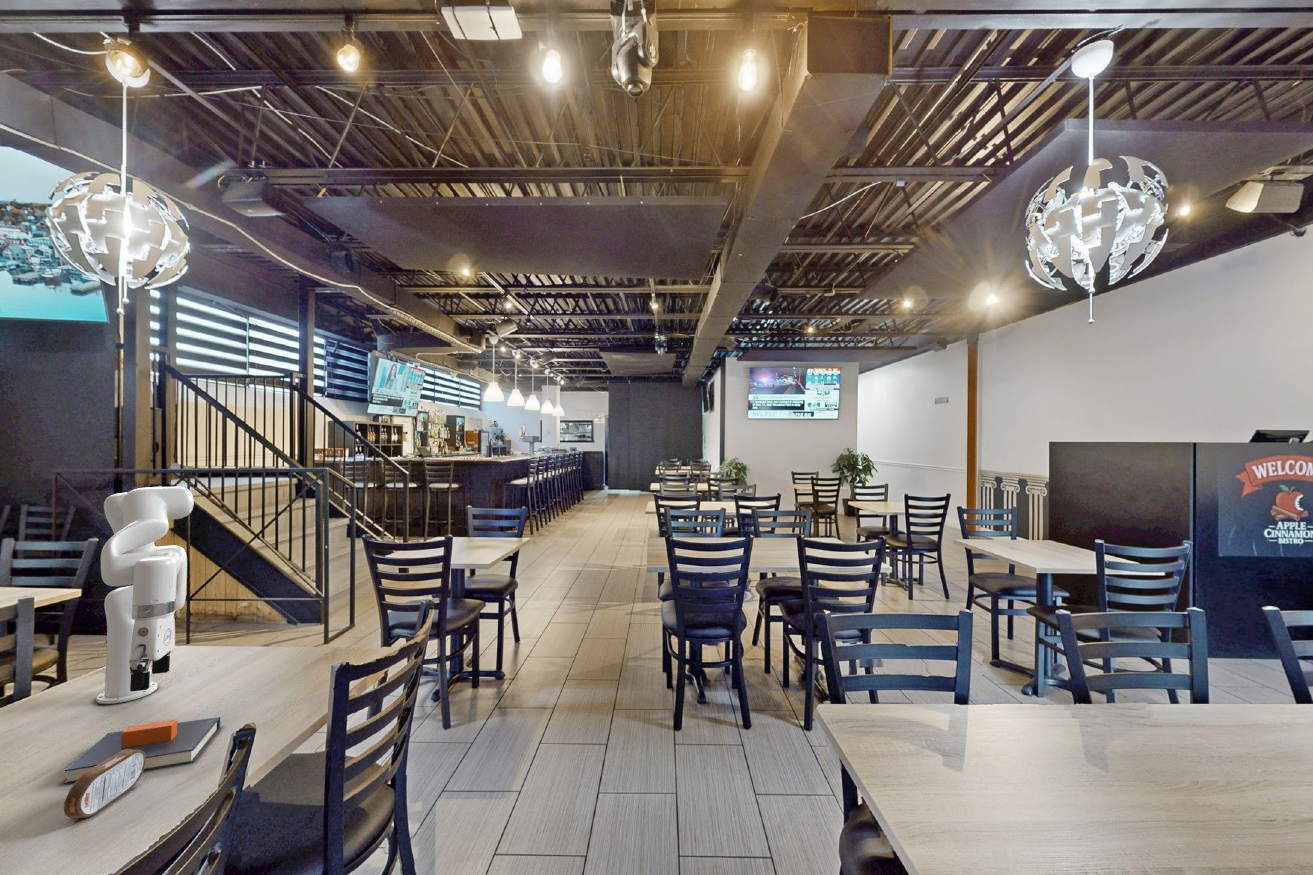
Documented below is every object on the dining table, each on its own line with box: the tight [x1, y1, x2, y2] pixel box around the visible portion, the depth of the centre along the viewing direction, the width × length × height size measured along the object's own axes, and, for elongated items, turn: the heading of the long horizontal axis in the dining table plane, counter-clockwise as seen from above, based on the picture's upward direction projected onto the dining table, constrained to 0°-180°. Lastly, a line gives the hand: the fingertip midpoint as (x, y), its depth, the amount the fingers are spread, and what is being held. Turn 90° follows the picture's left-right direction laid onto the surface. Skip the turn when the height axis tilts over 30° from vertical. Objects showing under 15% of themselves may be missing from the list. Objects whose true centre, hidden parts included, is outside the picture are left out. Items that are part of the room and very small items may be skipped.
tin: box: [63, 749, 146, 819], centre depth 107 cm, size 15×3×8 cm, turn 5°
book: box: [63, 716, 221, 785], centre depth 124 cm, size 16×22×3 cm
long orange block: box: [121, 719, 178, 748], centre depth 124 cm, size 3×9×4 cm, turn 113°
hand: (150, 681), depth 125 cm, fingers open, 9 cm apart
